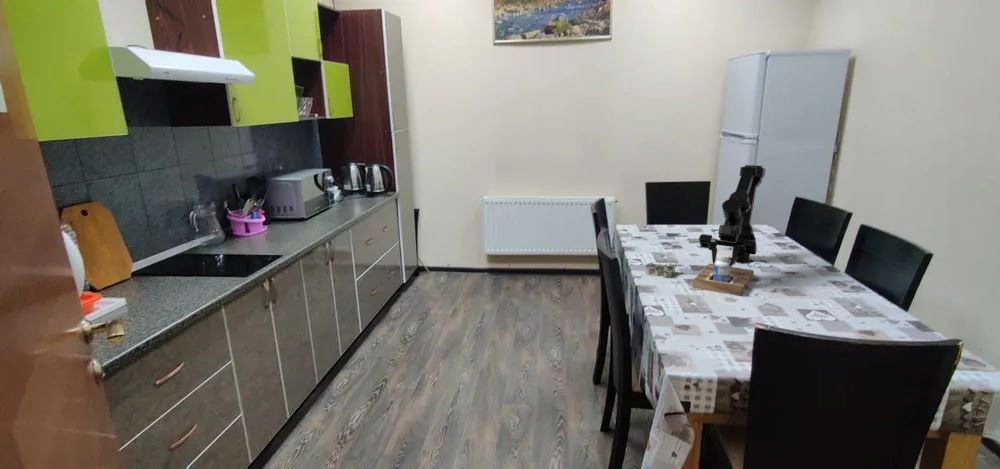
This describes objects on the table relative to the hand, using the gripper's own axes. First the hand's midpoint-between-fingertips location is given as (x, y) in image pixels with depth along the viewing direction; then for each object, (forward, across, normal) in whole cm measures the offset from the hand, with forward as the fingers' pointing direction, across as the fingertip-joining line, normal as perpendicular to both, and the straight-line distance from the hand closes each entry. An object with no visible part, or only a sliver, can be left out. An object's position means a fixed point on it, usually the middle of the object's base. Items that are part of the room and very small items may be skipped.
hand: (721, 264), depth 176 cm
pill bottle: (+4, 0, +6) cm, 7 cm away
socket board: (+2, 0, +10) cm, 10 cm away
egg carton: (+5, -22, +8) cm, 24 cm away
